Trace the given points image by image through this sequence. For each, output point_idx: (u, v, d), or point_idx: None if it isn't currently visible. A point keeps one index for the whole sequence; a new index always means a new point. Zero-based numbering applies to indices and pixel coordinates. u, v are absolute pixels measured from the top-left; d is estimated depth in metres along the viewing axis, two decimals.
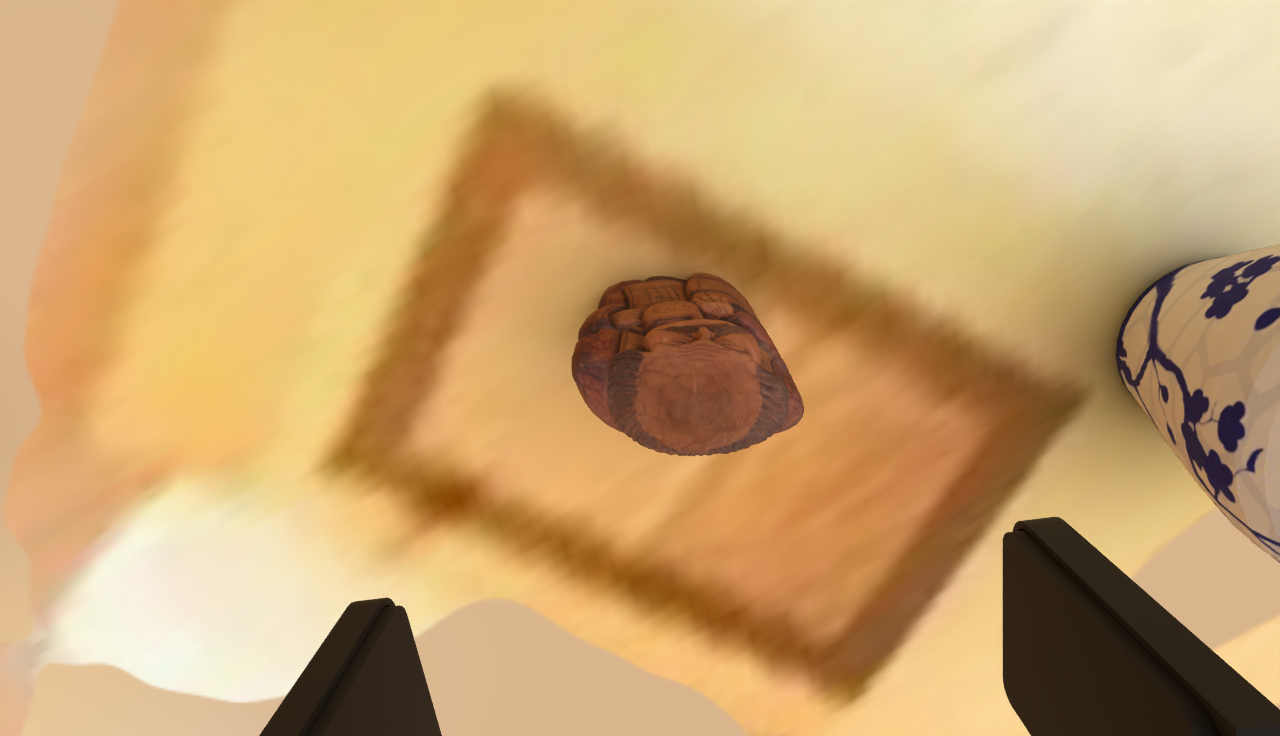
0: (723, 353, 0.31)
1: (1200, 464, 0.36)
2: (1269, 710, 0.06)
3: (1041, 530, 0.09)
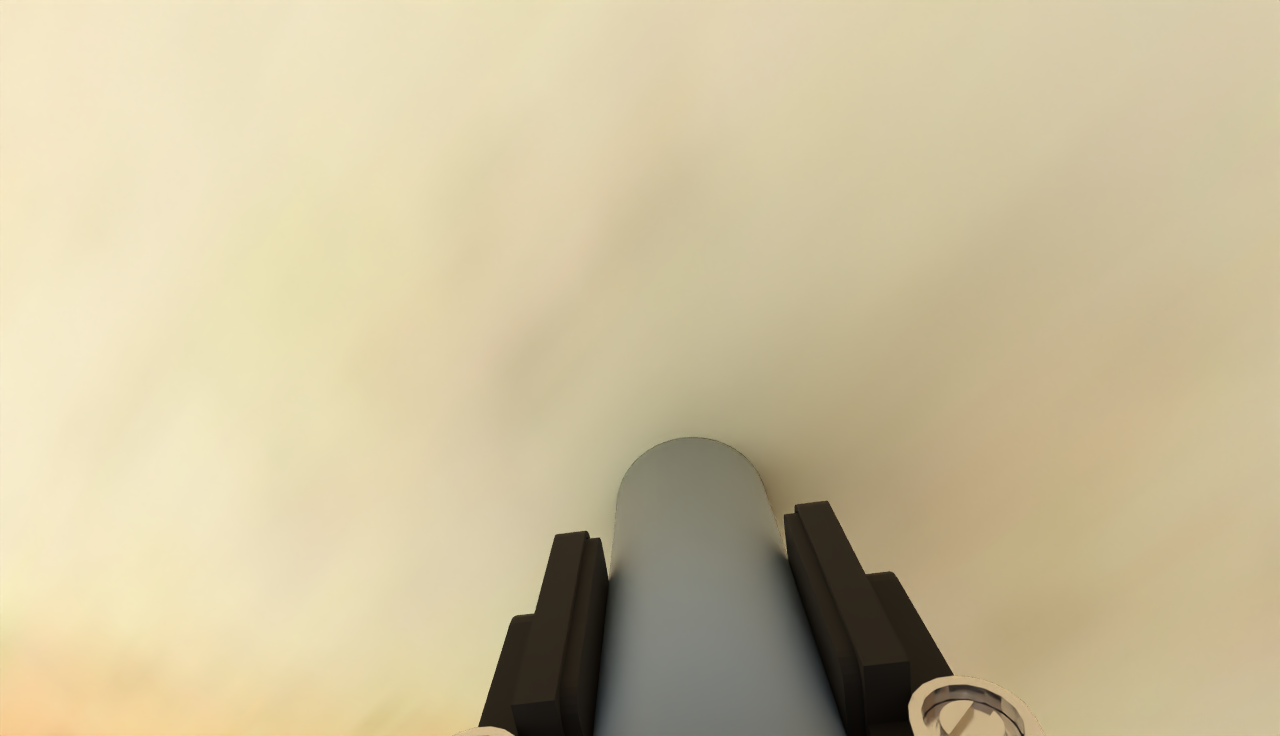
0: None
1: None
2: (896, 652, 0.08)
3: (807, 512, 0.11)
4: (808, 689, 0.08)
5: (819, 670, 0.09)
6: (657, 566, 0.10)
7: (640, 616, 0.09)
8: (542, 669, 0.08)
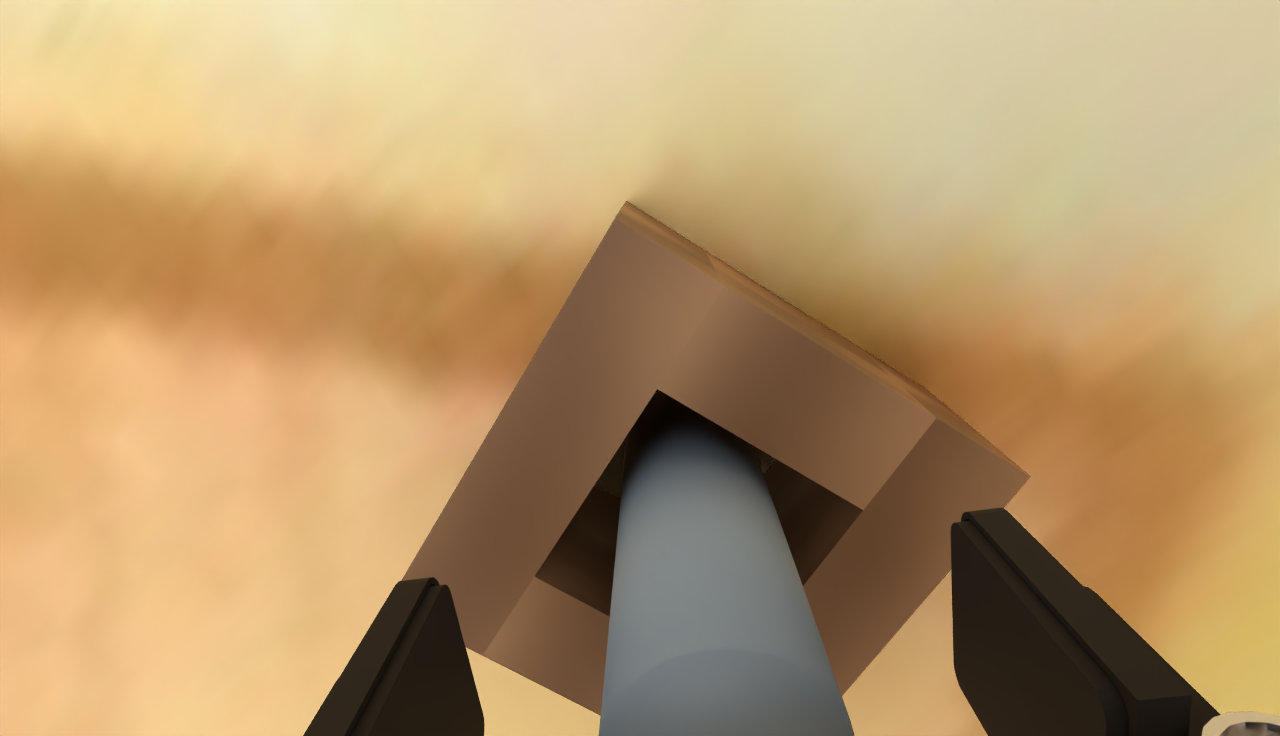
0: None
1: None
2: (1170, 685, 0.07)
3: (984, 520, 0.10)
4: (767, 531, 0.11)
5: (777, 528, 0.12)
6: (659, 465, 0.14)
7: (647, 494, 0.13)
8: None
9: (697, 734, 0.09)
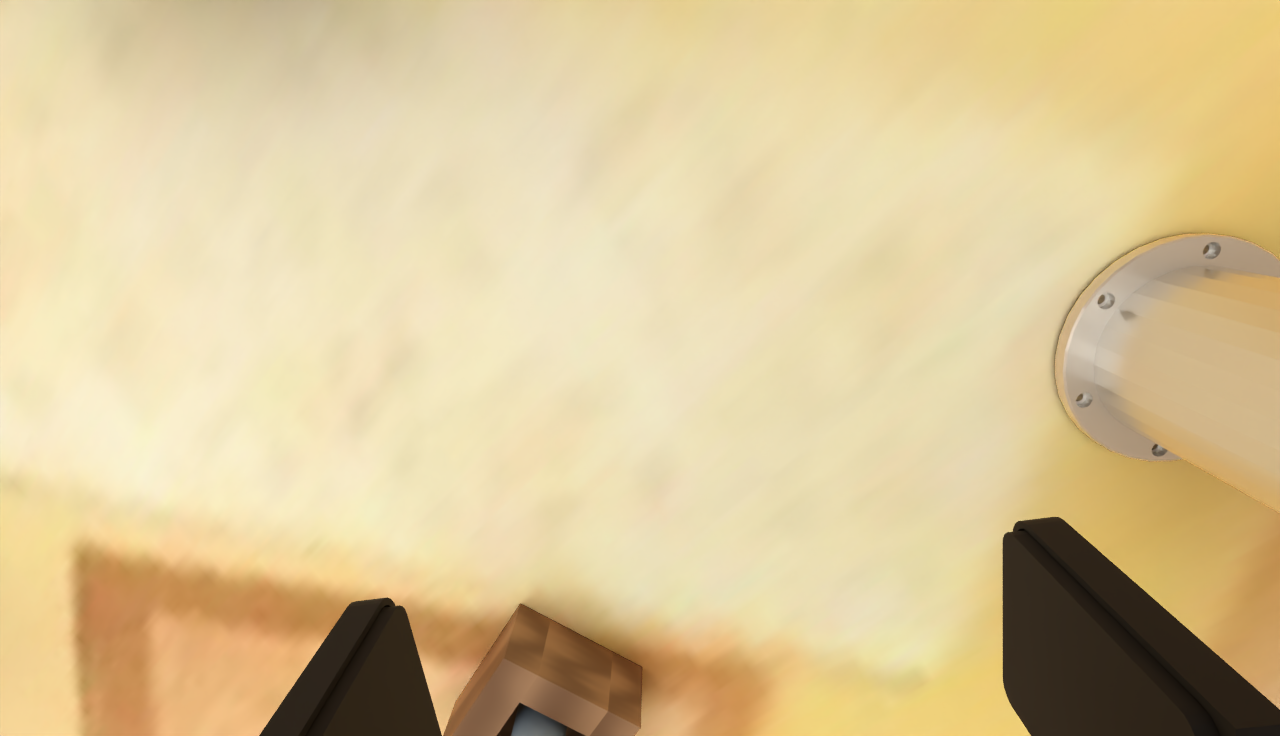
0: None
1: None
2: (1269, 710, 0.06)
3: (1041, 530, 0.09)
4: None
5: None
6: (523, 720, 0.41)
7: (516, 734, 0.40)
8: None
9: None
